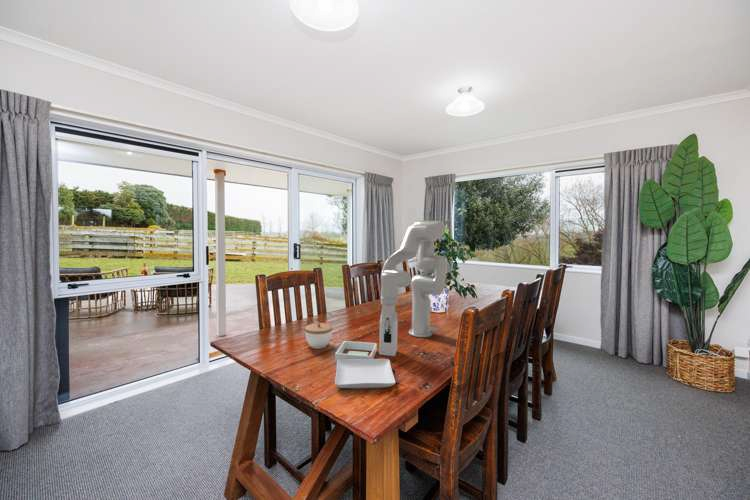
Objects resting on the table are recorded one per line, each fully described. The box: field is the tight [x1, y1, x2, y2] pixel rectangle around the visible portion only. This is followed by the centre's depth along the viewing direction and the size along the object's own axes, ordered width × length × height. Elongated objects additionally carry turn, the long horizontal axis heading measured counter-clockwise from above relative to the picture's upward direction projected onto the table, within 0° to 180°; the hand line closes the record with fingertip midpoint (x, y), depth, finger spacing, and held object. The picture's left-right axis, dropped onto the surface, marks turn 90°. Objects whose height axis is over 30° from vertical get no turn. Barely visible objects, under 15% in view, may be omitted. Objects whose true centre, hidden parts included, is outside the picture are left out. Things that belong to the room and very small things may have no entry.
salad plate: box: [334, 358, 396, 389], centre depth 120 cm, size 21×21×3 cm
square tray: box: [334, 340, 378, 363], centre depth 140 cm, size 15×15×4 cm
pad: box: [346, 350, 370, 356], centre depth 140 cm, size 9×9×1 cm
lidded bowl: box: [304, 322, 333, 350], centre depth 151 cm, size 13×13×11 cm
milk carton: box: [378, 310, 399, 357], centre depth 144 cm, size 7×7×19 cm
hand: (388, 338), depth 144 cm, fingers closed on milk carton, 7 cm apart
